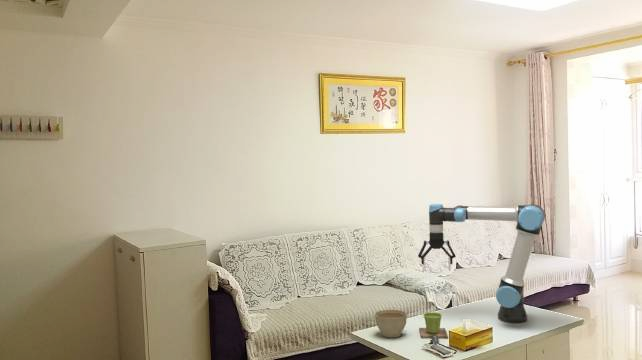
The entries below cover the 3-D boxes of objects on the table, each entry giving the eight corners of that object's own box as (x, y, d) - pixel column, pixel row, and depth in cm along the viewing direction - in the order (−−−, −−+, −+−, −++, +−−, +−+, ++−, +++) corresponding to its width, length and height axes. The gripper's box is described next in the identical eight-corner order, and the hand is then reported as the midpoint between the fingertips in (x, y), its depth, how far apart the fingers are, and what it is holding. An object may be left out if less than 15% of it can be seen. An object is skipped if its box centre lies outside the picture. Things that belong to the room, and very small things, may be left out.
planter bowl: (409, 331, 277) (408, 310, 276) (405, 341, 261) (405, 319, 261) (378, 329, 281) (377, 308, 281) (372, 339, 265) (372, 317, 265)
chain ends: (434, 327, 281) (434, 324, 281) (439, 344, 256) (439, 340, 256) (428, 327, 281) (428, 324, 281) (432, 344, 256) (432, 340, 256)
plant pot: (421, 329, 275) (420, 312, 274) (439, 328, 276) (439, 311, 275) (426, 335, 265) (426, 317, 265) (445, 334, 266) (444, 316, 266)
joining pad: (444, 330, 276) (444, 328, 276) (447, 338, 263) (447, 336, 263) (419, 330, 278) (419, 327, 278) (421, 338, 265) (421, 335, 265)
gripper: (458, 230, 298) (459, 268, 299) (413, 231, 301) (413, 268, 302) (460, 232, 291) (461, 271, 292) (413, 233, 294) (414, 271, 295)
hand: (437, 270), depth 297 cm, fingers open, 13 cm apart
